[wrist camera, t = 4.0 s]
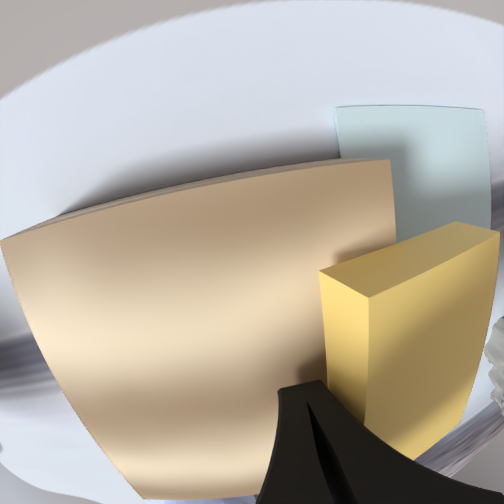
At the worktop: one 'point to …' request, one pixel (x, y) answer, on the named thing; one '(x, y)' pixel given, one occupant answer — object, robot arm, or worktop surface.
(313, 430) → the robot arm
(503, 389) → the egg carton
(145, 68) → the worktop surface
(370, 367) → the yellow rectangular block
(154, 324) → the tan flat block
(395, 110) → the mat
